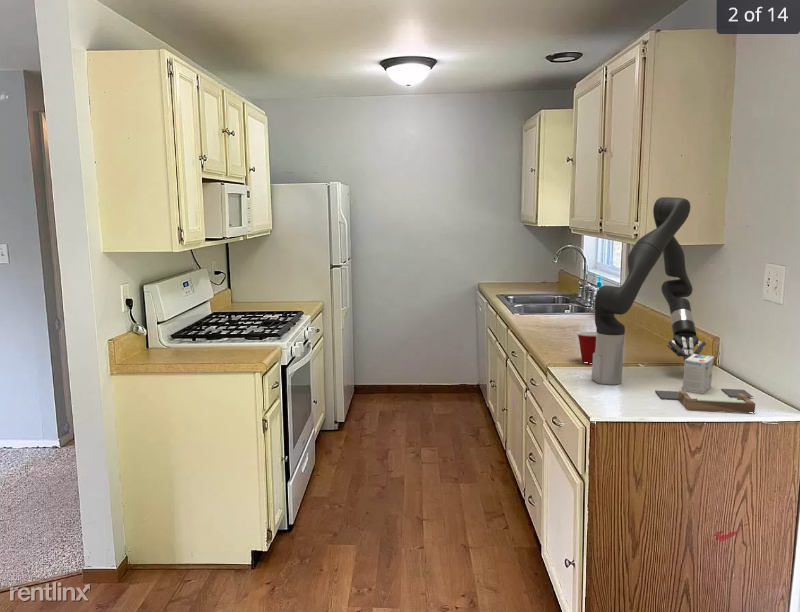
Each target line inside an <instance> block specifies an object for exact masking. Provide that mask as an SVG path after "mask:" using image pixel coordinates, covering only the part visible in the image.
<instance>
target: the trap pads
mask: <svg viewBox="0 0 800 612" xmlns="http://www.w3.org/2000/svg"><path fill="white" fill-rule="evenodd" d="M720 390H721V392H723V393H724V394H725V395H726V394H727V395H728V397H729V398H733V397H737V394H738V393H739V394H744V395H745V396H746V397H748V398H749V399H751V398H750V397H754V396H753V395H752V394H750V393H749V392H748V391H746V390H745V389H737V388H736V389H735V388H720ZM655 394H656V396H658V397H659V398H660V400H665V399H666V401H667V400H669V401H670V400H671V401H679V390H678V391H677V390H676V391H675V390H674V391H673V390H658V389H657V390H655ZM727 395H726V396H727Z"/></svg>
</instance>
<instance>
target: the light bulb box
mask: <svg viewBox="0 0 800 612" xmlns="http://www.w3.org/2000/svg"><path fill="white" fill-rule="evenodd" d="M714 359H715V357H714V356H713V355H704V354H700V353H699V354H692V355H691V356H690V357H689V358H687V359H685V363H684V367H683V380H682V390H681V391H685V392H688V393H694V394H700V395H704V394H705V393H706V392H707V391H708V390H709V389H710V388H712V380H713V367H714Z"/></svg>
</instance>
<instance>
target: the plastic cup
mask: <svg viewBox="0 0 800 612" xmlns="http://www.w3.org/2000/svg"><path fill="white" fill-rule="evenodd" d="M576 335H577V338H578V342H579V349H580V357H581V362H582V361H583V362H588V363H592V362H593V353H595V349H596V331H578V332H576ZM583 362H582V363H583Z"/></svg>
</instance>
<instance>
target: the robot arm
mask: <svg viewBox="0 0 800 612" xmlns="http://www.w3.org/2000/svg"><path fill="white" fill-rule="evenodd" d="M652 211H653V212H652V213H653V220H654V224H655V227H656V228H655V229H653V230H651V231H649V232H648V233H646V234H644V235H643V236H642V237H640V238H639V239H638V240H637V241H636V242H635V244H634V245H633V247H632V248H631V250H630V251H629V253H628V255H627V269H628V271H627V272H628V275H627V277H626V279H625V281H624V282H623V283H622V285H621V286H616V285H614V286H613V285H602V286H600V287H599V288H598V289H597V290H596V293H595V298H594V324H595V327H596V331H595V332H596V349H595V353H593V362H592V364H591V365H592V367H591V380H592V381H594V382H595V383H597V384H599V385H600V384H602V385H603V384H604V385H610V386H611V385H613V386H614V385H620V384H622V382H623V367H624V349H625V333H626V327H625V324H623V323H622V322H620V321H619V320H618V319H617V318H616V317H615V315H619V316H620V315H621V316H622V315H625V314H627V313H628V311H630V309H631V307H632V306H633V304H634V302H635V300H636V298H637V296H638V294H639V292H640V290H641V288H642V285H643V284H644V283H645V280H646V279H647V278H648V275H649V274H650V272H651V271H652V269H653V267H654V266H655V265H656V264H657V262H658V260H659V259H660V257H661V256H662V254H663V262H664V273H665V275H667V276H668V277H672V278H678V279H668V280H665V281H664V282H662V285H661V293H662V295H663V298H664V299H665V301H666V302H667V305H668V307H669V313H670V325H671V330H672V336H673V338H672V340H669V341H667V347H668V349H670V350H671V351H672V352H673V353H674V354H675V355H676V356H677V357H682V358H683V363H684V364H685V359H687V358H689V357H690V356H691V355H692V354H699V355H700V354H701V353H702V351H703V350H704V348H706V347H705V346H706V344H707V343H706V342H705V341H701V340H700V339H699V338H698V336H697V330H696V325H695V319H694V316H693V313H692V308H691V303H690V301H689V299H687V298H688V297H690V296H691V295H692V293H693V285H692V282H691V280H690V279H689V276H688V274H687V269H686V268H687V267H686V260H685V253H684V249H683V248H682V246H681V244H680V243H679V241H678V240H677V239H676V237H675V235H676V233H677V232H678V230H680V229H681V228H682V226H683V225H684V223H686V221H687V219H688V217H689V214H690V212H691V202H690V201H689V200H688V199H686V198H684V197H674V196H673V197H672V196H671V197H670V196H664V197H663V196H661V197H659V198H657V200H656V201H655V203H654V204H653V209H652ZM696 346H697V348H696V350H694V348H695V347H696Z"/></svg>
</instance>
